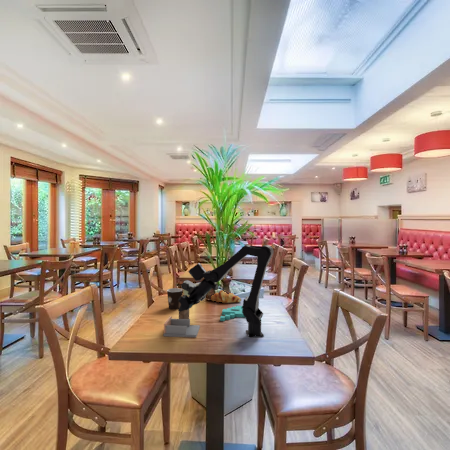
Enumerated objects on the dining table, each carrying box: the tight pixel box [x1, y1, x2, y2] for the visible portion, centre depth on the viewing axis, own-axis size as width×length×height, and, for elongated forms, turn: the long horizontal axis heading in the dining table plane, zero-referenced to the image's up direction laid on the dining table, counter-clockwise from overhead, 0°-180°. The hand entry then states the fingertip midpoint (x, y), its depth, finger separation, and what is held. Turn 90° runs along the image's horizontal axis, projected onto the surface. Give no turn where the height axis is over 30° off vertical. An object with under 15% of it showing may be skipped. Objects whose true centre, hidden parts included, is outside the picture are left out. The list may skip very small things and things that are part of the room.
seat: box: [162, 315, 201, 338], centre depth 126 cm, size 14×11×5 cm
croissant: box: [210, 289, 242, 304], centre depth 174 cm, size 21×10×8 cm, turn 79°
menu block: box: [178, 302, 190, 319], centre depth 136 cm, size 3×5×11 cm, turn 160°
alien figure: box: [219, 305, 246, 322], centre depth 149 cm, size 20×2×20 cm
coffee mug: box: [166, 287, 185, 311], centre depth 158 cm, size 12×9×10 cm
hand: (181, 309), depth 136 cm, fingers closed on menu block, 5 cm apart
